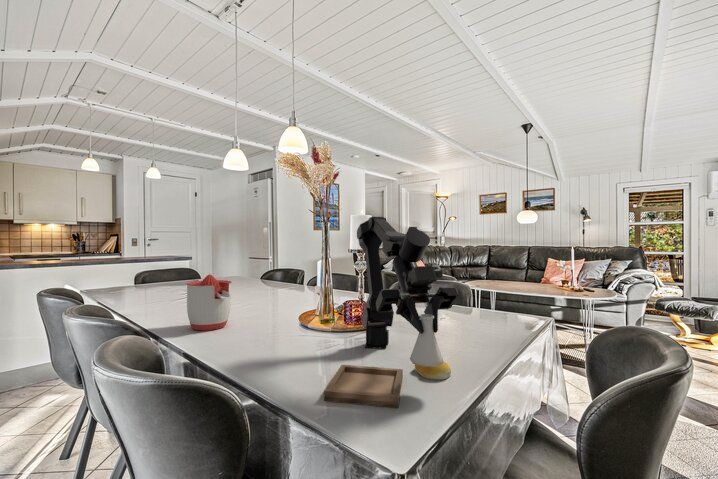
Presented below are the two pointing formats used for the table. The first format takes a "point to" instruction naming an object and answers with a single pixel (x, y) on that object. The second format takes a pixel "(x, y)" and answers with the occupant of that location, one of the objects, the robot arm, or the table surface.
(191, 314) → the citrus juicer
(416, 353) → the flask
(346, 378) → the walnut tray
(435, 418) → the table surface
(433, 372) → the bread roll
